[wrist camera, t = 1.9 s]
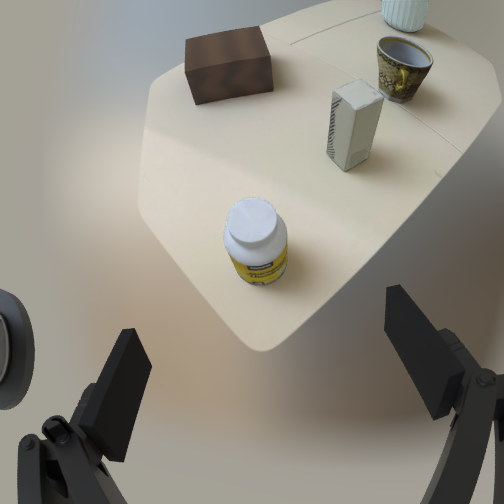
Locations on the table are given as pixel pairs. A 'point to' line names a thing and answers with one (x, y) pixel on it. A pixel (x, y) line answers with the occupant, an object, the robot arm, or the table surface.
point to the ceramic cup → (401, 67)
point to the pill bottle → (256, 241)
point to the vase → (405, 14)
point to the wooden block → (228, 65)
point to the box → (353, 123)
